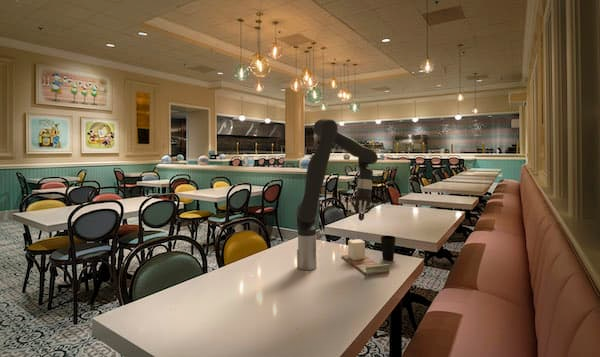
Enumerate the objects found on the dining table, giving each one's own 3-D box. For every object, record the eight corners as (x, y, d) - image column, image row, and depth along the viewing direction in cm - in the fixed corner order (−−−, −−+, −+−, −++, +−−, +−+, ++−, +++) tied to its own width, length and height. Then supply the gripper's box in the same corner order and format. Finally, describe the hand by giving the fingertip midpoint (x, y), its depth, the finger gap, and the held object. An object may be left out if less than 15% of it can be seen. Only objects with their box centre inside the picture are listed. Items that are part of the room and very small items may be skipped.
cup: (397, 261, 183) (397, 239, 182) (382, 261, 183) (382, 239, 182) (393, 256, 190) (393, 235, 189) (379, 257, 191) (379, 235, 189)
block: (348, 256, 189) (348, 240, 188) (359, 255, 191) (359, 239, 190) (353, 260, 183) (353, 243, 182) (365, 258, 185) (365, 242, 184)
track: (341, 257, 191) (341, 250, 191) (361, 255, 194) (361, 248, 194) (366, 275, 163) (366, 267, 163) (389, 272, 167) (389, 264, 166)
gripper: (351, 186, 183) (348, 219, 183) (377, 189, 181) (373, 222, 180) (352, 187, 191) (348, 218, 190) (376, 189, 188) (373, 221, 187)
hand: (360, 220), depth 185 cm, fingers closed
